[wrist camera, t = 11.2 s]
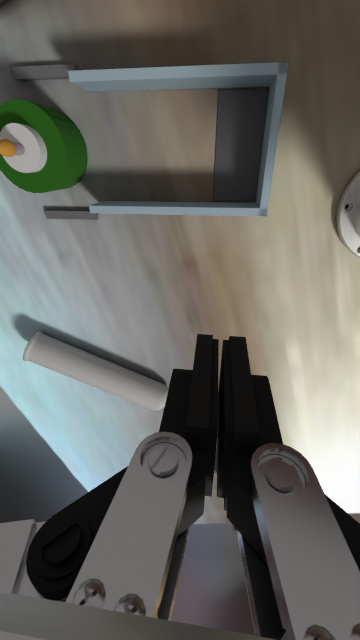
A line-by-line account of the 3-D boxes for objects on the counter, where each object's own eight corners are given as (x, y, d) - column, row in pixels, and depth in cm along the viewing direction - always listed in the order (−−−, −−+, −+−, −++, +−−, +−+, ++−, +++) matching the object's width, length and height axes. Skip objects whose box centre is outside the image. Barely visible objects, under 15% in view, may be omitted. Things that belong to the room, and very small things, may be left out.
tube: (174, 395, 46) (29, 335, 43) (161, 421, 47) (18, 364, 44) (174, 381, 51) (44, 327, 49) (162, 405, 52) (35, 353, 50)
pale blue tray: (279, 75, 28) (288, 61, 24) (261, 209, 34) (266, 216, 30) (87, 82, 30) (68, 70, 26) (104, 207, 36) (90, 213, 32)
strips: (76, 65, 29) (73, 64, 29) (98, 218, 37) (96, 219, 36) (15, 68, 30) (11, 66, 30) (48, 217, 38) (46, 218, 37)
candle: (15, 167, 35) (-51, 169, 26) (28, 92, 31) (-45, 66, 22) (76, 201, 36) (31, 213, 28) (96, 133, 32) (51, 123, 24)
